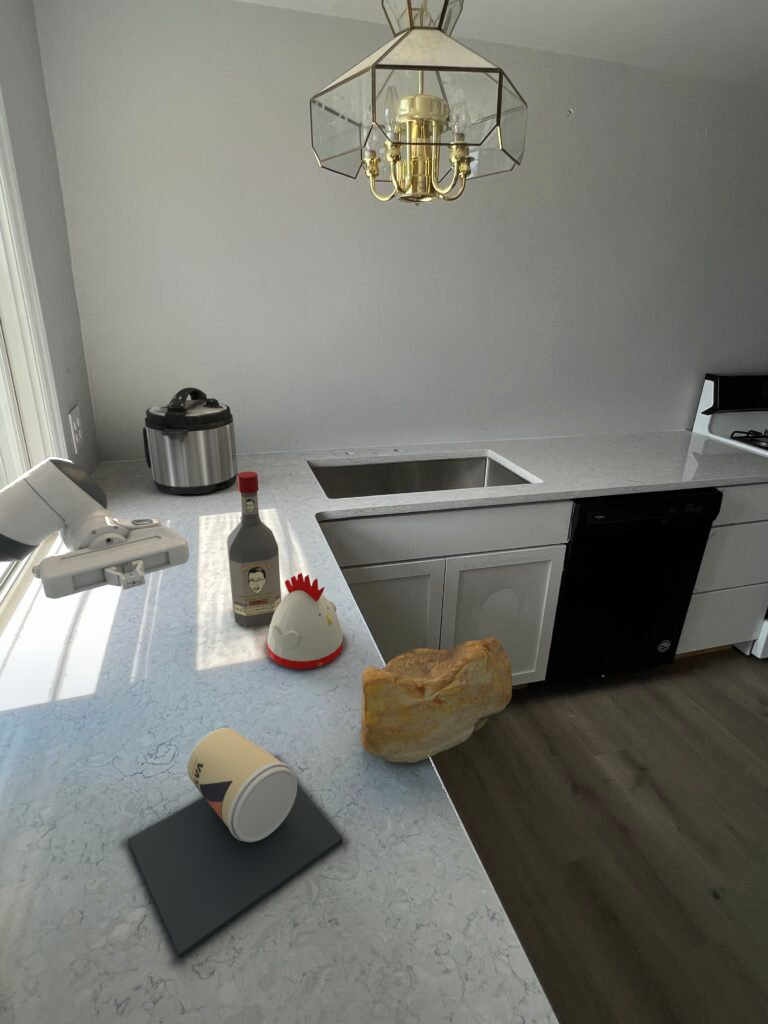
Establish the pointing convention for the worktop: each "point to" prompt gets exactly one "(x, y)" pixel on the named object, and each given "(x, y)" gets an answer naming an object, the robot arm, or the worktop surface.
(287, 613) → the kitchen timer
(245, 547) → the liquor
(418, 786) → the worktop surface
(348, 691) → the worktop surface
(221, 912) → the slate mat
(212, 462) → the pressure cooker
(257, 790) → the coffee cup
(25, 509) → the robot arm
